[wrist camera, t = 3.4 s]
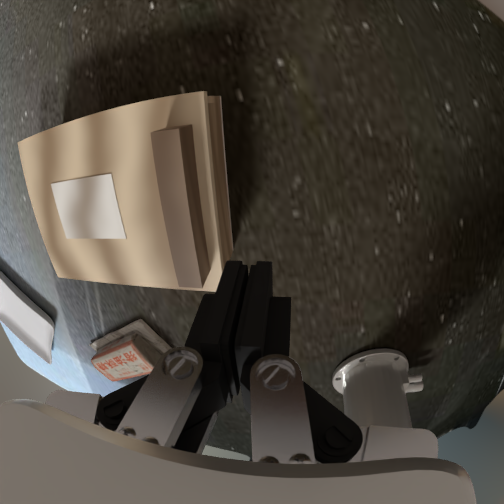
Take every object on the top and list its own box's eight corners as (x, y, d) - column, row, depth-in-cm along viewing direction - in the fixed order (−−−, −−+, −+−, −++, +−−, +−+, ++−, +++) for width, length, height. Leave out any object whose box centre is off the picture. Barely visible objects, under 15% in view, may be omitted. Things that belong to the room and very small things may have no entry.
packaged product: (118, 390, 46) (80, 358, 42) (127, 372, 50) (91, 340, 46) (176, 379, 39) (128, 338, 35) (185, 356, 43) (141, 315, 40)
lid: (206, 91, 17) (191, 90, 14) (226, 286, 26) (218, 311, 23) (22, 140, 20) (0, 149, 17) (61, 273, 28) (46, 289, 26)
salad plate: (-5, 255, 40) (-15, 264, 37) (62, 317, 44) (53, 328, 42) (1, 307, 50) (-6, 315, 47) (57, 356, 55) (51, 366, 52)
